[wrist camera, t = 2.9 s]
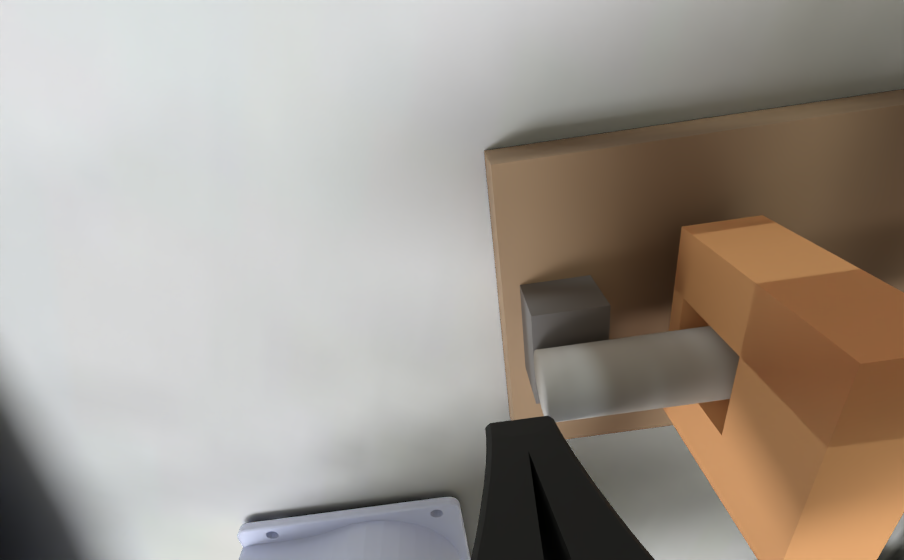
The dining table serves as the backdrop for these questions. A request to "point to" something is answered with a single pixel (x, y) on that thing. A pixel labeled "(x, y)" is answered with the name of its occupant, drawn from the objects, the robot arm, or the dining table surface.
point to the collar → (796, 390)
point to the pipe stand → (670, 245)
